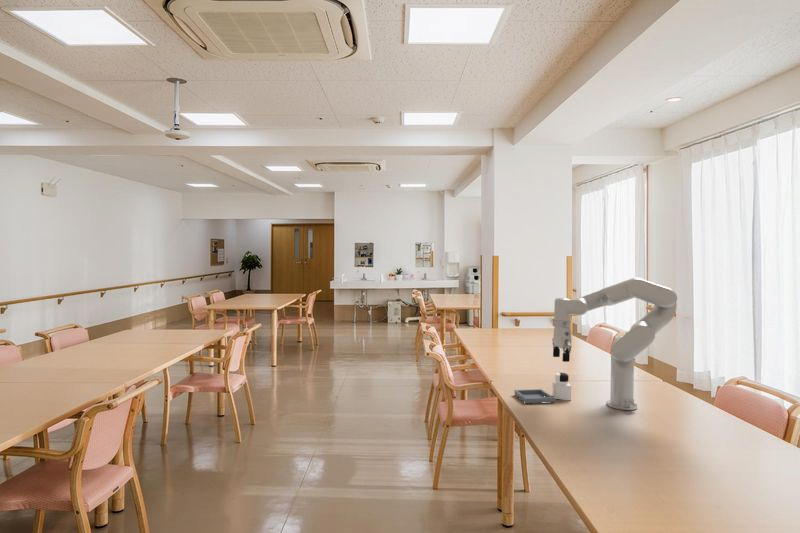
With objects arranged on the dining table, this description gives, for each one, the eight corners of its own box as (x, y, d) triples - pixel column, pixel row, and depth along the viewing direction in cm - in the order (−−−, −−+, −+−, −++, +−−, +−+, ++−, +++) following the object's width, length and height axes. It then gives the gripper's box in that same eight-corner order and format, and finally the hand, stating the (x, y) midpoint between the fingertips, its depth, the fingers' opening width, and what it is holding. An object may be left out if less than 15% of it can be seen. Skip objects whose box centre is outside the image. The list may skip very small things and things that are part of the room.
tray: (554, 403, 210) (554, 397, 210) (525, 404, 209) (525, 398, 209) (541, 394, 224) (541, 389, 224) (514, 395, 223) (514, 390, 223)
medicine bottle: (567, 396, 221) (567, 371, 221) (571, 400, 214) (571, 375, 214) (552, 395, 222) (552, 371, 222) (555, 400, 215) (556, 375, 215)
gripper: (578, 326, 209) (577, 363, 210) (561, 321, 227) (559, 355, 227) (563, 326, 209) (562, 363, 209) (546, 321, 226) (545, 355, 226)
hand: (561, 359), depth 218 cm, fingers open, 9 cm apart
